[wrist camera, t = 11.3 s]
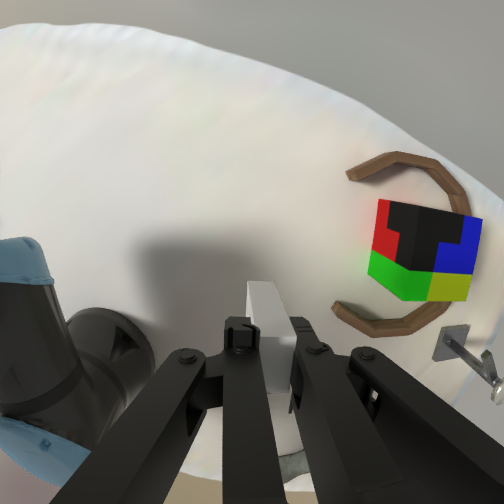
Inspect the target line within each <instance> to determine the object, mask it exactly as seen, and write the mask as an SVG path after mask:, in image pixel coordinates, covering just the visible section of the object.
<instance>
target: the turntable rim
mask: <svg viewBox="0 0 504 504" xmlns="http://www.w3.org/2000/svg"><path fill="white" fill-rule="evenodd" d="M393 163H396V164H401V165H406V166H412V167H417V168H422V169H424V170H425V171H426V172H427V173H428V174H429V175H430V176H431V177H432V178H433V179H434V180H435V181H436V183H437V184H438V185H439V186H440V187H441V188H442V189H443V190H444V191H445V192H446V193H447V194H448V197H449V200H450V204H451V207H452V211H453V213H457V214H462V215H466V216H471V217H472V215H471V211H470V207H469V203H468V199H467V196H466V192H465V191H464V189H463V188H462V186H461V185H460V184H459V183H458V182H457V181H456V180H455V178H454V177H453V176H452V175H451V174H450V173H449V172H448V171H447V170H446V169H445V168H444V167H443V165H442V164H441V163H440V162H439V161H438V160H437V161H436V159H431V158H427V157H423V156H418V155H413V154H409V153H404V152H399V151H395V152H387V153H383V154H381V155H379V156H377V157H375V158H373V159H371V160H368V161H366V162H364V163H362V164H360V165H358V166H356V167H354V168H352V169H349V170H347V171H345V172H346V174H347V176H348V178H349V180H356V181H359V180H361V179H363V178H365V177H367V176H369V175H371V174H373V173H375V172H377V171H379V170H381V169H383V168H385V167H387V166H389V165H391V164H393ZM451 302H452V301H429V302H427V303H426V304H424V305H423V306H421V307H419V308H418V309H416V310H415V311H413V312H412V313H410V314H408V315H407V316H405V317H404V318H402V319H390V320H366V319H364V318H363V317H361V316H359V315H358V314H356V313H355V312H353V311H351V310H350V309H348V308H347V307H345V306H344V305H342V304H340V303H339V302H337V301H336V302H335V303H334V305H333V306H332V307H331V309H332V310H333V312H334V313H335V315H336V316H337V317H338V318H339V319H341V320H342V321H344V322H346V323H347V324H349V325H351V326H352V327H354V328H356V329H357V330H359V331H361V332H362V333H364V334H366V335H368V336H369V337H372V338H379V337H393V336H405V335H410V334H413V333H415V332H416V331H418V330H419V329H421V328H422V327H424V326H425V325H427V324H428V323H430V322H431V321H433V320H434V319H436V318H437V317H439V316H440V315H442V314H443V313H444V311H446V310H447V308H448V307H449V305H450V304H451Z"/></svg>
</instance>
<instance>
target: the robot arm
mask: <svg viewBox="0 0 504 504" xmlns="http://www.w3.org/2000/svg"><path fill="white" fill-rule="evenodd" d="M53 284H54V279H53V278H52V277H51V276H50V273H49V269H48V266H47V263H46V260H45V257H44V253H43V250H42V248H41V246H40V244H39V243H38V242H37V241H36V240H34V239H33V238H30V237H17V238H10V239H4V240H0V448H1V449H2V450H3V451H4V452H5V453H6V454H7V455H8V456H9V457H10V458H11V459H12V460H13V461H14V462H16V463H17V464H18V465H20V466H21V467H22V468H24V469H25V470H26V471H28V472H30V473H31V474H33V475H35V476H36V477H38V478H40V479H42V480H44V481H46V482H49V483H51V484H54V485H56V486H59V487H62V488H61V489H60V491H59V492H58V493H57V494H56V496H55V497H54V498H53V499H52V500H51V502H50V503H49V504H163V502H164V500H165V499H166V497H167V495H168V492H169V490H170V488H171V486H172V484H173V482H174V480H175V478H176V476H177V474H178V472H179V470H180V468H181V466H182V464H183V462H184V460H185V458H186V456H187V454H188V452H189V449H190V447H191V445H192V443H193V441H194V439H195V437H196V435H197V433H198V431H199V429H200V426H201V424H202V422H203V420H204V418H205V416H206V413H207V409H210V408H215V407H221V406H223V446H222V485H223V504H288V503H287V501H286V497H285V491H284V486H283V480H282V475H281V470H280V464H279V459H278V453H277V448H276V442H275V437H274V431H273V425H272V420H271V414H270V409H269V403H268V397H267V393H289V389H290V383H291V386H292V395H291V401H290V407H289V414H291V413H292V409H293V410H294V413H295V417H296V421H297V425H298V428H299V432H300V436H301V440H302V443H303V447H304V451H305V455H306V458H307V462H308V466H309V470H310V473H311V477H312V481H313V485H314V488H315V492H316V496H317V500H318V503H319V504H504V447H503V446H502V445H500V444H499V443H498V442H497V441H495V440H494V439H493V438H491V437H490V436H489V435H487V434H486V433H485V432H484V431H482V430H481V429H480V428H478V427H477V426H476V425H475V424H473V423H472V422H471V421H469V420H468V419H467V418H465V417H464V416H463V415H461V414H460V413H459V412H457V411H456V410H455V409H454V408H452V407H451V406H450V405H449V404H447V403H446V402H445V401H443V400H442V399H441V398H439V397H438V396H437V395H436V394H434V393H433V392H432V391H430V390H429V389H428V388H427V387H425V386H424V385H423V384H421V383H420V382H419V381H417V380H416V379H415V378H414V377H412V376H411V375H410V374H408V373H407V372H406V371H404V370H403V369H402V368H401V367H399V366H398V365H397V364H395V363H394V362H393V361H392V360H390V359H389V358H388V357H386V356H385V355H384V354H382V353H381V352H380V351H378V350H376V349H374V348H371V347H366V346H363V347H357V348H355V349H353V350H352V352H351V356H342V355H336V354H334V352H333V350H332V349H331V347H330V346H329V345H327V344H325V343H323V342H320V341H319V339H318V338H317V336H316V334H315V332H314V330H313V328H312V326H311V325H310V323H309V321H308V320H306V319H305V318H303V317H289V316H288V314H287V311H286V309H285V307H284V304H283V302H282V299H281V297H280V295H279V292H278V290H277V287H276V285H275V283H274V281H248V282H247V301H246V317H229V318H228V319H227V320H226V321H225V330H224V350H223V351H222V352H221V353H220V354H218V355H216V356H213V357H207V358H206V357H205V355H204V354H203V353H202V352H200V351H199V350H195V349H189V348H185V349H184V348H183V349H179V350H176V351H174V352H172V353H171V354H170V355H169V356H168V358H167V359H166V360H165V361H164V363H163V364H162V365H161V366H160V368H159V369H158V370H157V371H156V372H155V374H154V370H155V360H154V355H153V351H152V349H151V346H150V344H149V342H148V341H147V339H146V337H145V336H144V335H143V333H142V332H141V331H140V330H139V329H138V328H137V327H136V326H135V325H134V324H133V323H132V322H130V321H129V320H128V319H126V318H125V317H123V316H122V315H120V314H118V313H115V312H113V311H110V310H107V309H102V308H88V309H84V310H81V311H79V312H77V313H76V314H74V315H73V316H72V317H71V318H70V319H69V320H68V321H67V322H65V319H64V316H63V313H62V310H61V307H60V304H59V301H58V298H57V295H56V292H55V289H54V285H53ZM153 374H154V375H153ZM374 390H375V391H376V392H377V393H378V397H377V399H376V400H375V399H374V398H373V397H372V394H373V391H374ZM126 407H127V408H126Z"/></svg>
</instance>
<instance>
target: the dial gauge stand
mask: <svg viewBox="0 0 504 504" xmlns="http://www.w3.org/2000/svg"><path fill="white" fill-rule="evenodd" d="M468 331H469V326H467V325H466V324H465V325H457V326H448V327H442V328H441V331H440V334H439V338H438V341H437V344H436V347H435V351H434V354H433V357H432V359H433V360H434V361H435V362H438V361H444V360H449V359H454V358H459V357H460V358H461V359H463V360H464V361H465V362H466V363H467V364H468V365H469V366H470V367H471V368H472V369H474V370H475V371H476V372H477V373H478V374H479V375H480V376H481V377H482V378H483V379H484V380H485V381H487V382H488V383H489V384H490V385H491V386H492V387H493V388H494V390H493V392H492V394H491V400H492V401H493V402H494V403H495V404H496V405H500V404H502V403H503V402H504V377H503V378H502V379H500V378H498V376H497V372H496V368H495V364H494V360H493V356H492V353H491V352H489V351H488V350H487V349H486V350H485V351H484V352H483V353H482V355H481V359H482V362H483V363H481V362H480V361H479V360H478V359H477V358H476V357H474V356H473V355H472V354H471V353H470V352H469V351H467V350H466V349H465V348H464V347H463V346H464V343H465V340H466V337H467V334H468Z"/></svg>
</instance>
